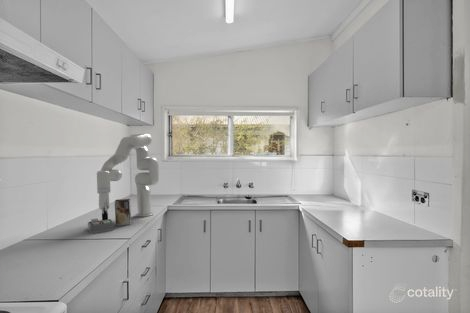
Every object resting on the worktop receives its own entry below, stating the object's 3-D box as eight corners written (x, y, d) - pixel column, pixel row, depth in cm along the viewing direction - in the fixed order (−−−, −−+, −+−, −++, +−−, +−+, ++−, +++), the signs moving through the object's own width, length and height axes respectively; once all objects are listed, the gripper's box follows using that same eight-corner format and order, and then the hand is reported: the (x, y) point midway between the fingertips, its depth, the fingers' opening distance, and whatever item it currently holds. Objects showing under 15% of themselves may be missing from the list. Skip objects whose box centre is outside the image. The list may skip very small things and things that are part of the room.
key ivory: (101, 225, 195) (101, 219, 195) (108, 224, 197) (107, 218, 197) (102, 226, 192) (102, 220, 192) (109, 225, 194) (108, 219, 194)
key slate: (91, 224, 192) (90, 219, 192) (97, 223, 194) (97, 218, 194) (91, 225, 189) (91, 220, 189) (98, 225, 191) (98, 219, 191)
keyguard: (88, 229, 193) (87, 221, 192) (110, 225, 199) (110, 218, 199) (90, 233, 181) (90, 225, 181) (114, 230, 188) (113, 222, 188)
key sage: (103, 227, 190) (103, 221, 190) (109, 226, 192) (109, 220, 192) (104, 228, 187) (104, 222, 187) (110, 227, 189) (110, 221, 189)
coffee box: (131, 222, 207) (130, 198, 207) (130, 224, 201) (129, 200, 200) (117, 223, 205) (116, 199, 205) (115, 226, 199) (114, 200, 199)
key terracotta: (92, 228, 187) (92, 222, 187) (98, 227, 189) (98, 222, 189) (93, 229, 184) (92, 224, 184) (99, 229, 186) (99, 223, 185)
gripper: (95, 189, 198) (96, 218, 199) (99, 192, 186) (100, 222, 186) (108, 188, 202) (109, 217, 203) (112, 191, 190) (113, 221, 190)
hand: (105, 219), depth 194 cm, fingers closed
